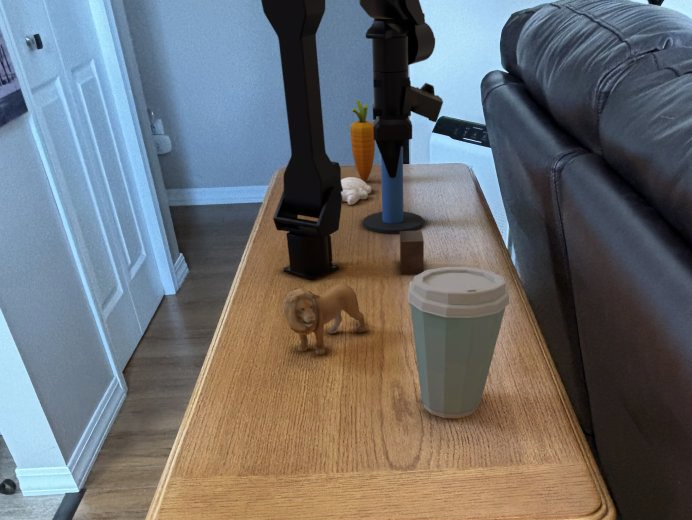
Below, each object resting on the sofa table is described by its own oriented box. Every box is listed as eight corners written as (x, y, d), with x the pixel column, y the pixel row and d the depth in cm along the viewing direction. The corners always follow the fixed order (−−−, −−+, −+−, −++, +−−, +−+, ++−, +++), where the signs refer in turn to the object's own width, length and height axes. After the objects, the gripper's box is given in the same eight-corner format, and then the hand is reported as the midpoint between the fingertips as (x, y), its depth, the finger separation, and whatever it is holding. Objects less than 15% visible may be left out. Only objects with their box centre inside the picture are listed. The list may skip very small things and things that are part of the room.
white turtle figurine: (317, 203, 145) (315, 186, 143) (339, 186, 153) (338, 170, 151) (358, 206, 142) (358, 189, 140) (379, 189, 151) (378, 173, 149)
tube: (347, 188, 128) (391, 138, 124) (348, 182, 131) (391, 133, 127) (393, 234, 134) (437, 187, 129) (392, 227, 137) (436, 181, 132)
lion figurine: (313, 370, 91) (306, 299, 85) (278, 360, 93) (269, 291, 87) (374, 325, 101) (372, 259, 95) (342, 317, 103) (337, 252, 97)
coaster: (398, 237, 128) (398, 234, 128) (350, 225, 134) (350, 222, 133) (435, 221, 135) (435, 218, 135) (388, 210, 140) (388, 207, 140)
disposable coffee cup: (397, 388, 87) (395, 261, 78) (483, 377, 89) (492, 252, 80) (419, 435, 79) (420, 300, 70) (514, 422, 81) (527, 289, 72)
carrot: (375, 185, 154) (373, 103, 144) (352, 185, 154) (348, 103, 144) (376, 178, 158) (374, 98, 148) (353, 178, 158) (349, 98, 148)
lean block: (401, 274, 115) (400, 241, 112) (400, 262, 119) (399, 231, 116) (423, 273, 115) (423, 241, 112) (421, 262, 119) (421, 230, 116)
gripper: (445, 78, 112) (442, 188, 122) (436, 60, 126) (434, 159, 136) (371, 80, 112) (375, 189, 122) (371, 61, 126) (374, 161, 136)
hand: (392, 174), depth 129 cm, fingers open, 4 cm apart
